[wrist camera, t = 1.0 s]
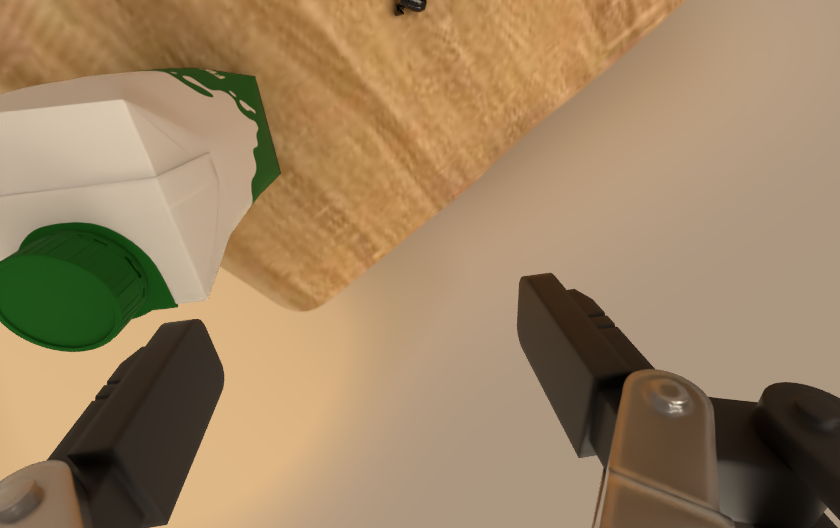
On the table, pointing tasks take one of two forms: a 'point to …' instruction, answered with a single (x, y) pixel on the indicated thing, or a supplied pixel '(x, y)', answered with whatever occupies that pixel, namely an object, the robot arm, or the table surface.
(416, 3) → the black gauge box
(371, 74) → the table surface
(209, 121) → the milk carton
